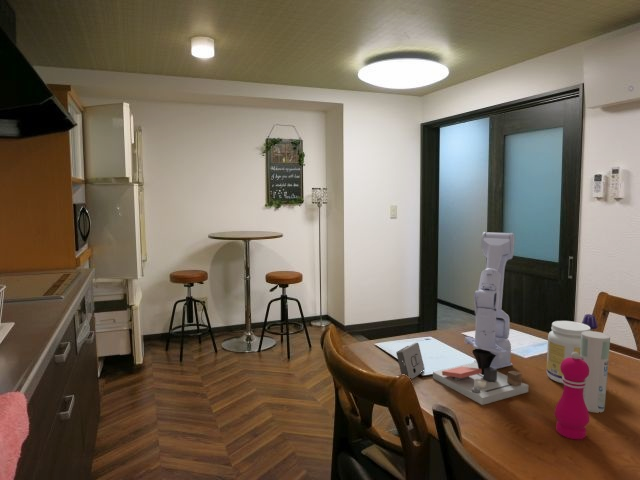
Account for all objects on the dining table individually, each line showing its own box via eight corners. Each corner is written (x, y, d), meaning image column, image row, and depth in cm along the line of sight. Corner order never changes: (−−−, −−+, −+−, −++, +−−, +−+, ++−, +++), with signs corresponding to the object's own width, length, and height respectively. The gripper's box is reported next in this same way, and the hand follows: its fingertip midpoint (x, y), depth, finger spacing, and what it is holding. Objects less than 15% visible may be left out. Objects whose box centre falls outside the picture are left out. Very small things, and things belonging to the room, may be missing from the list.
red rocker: (462, 370, 142) (461, 366, 142) (481, 373, 135) (481, 368, 135) (442, 375, 138) (441, 371, 138) (461, 378, 131) (460, 373, 131)
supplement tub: (588, 374, 145) (592, 322, 143) (593, 390, 134) (596, 333, 132) (545, 368, 150) (548, 317, 148) (546, 382, 139) (549, 328, 137)
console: (475, 368, 150) (476, 351, 150) (528, 391, 133) (529, 373, 132) (432, 378, 142) (433, 360, 142) (482, 405, 124) (483, 384, 124)
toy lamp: (594, 367, 151) (597, 317, 149) (577, 364, 154) (581, 315, 152) (595, 363, 155) (599, 314, 153) (580, 360, 157) (583, 312, 156)
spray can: (604, 415, 119) (610, 340, 117) (576, 409, 122) (580, 335, 120) (605, 405, 124) (610, 333, 122) (577, 399, 128) (582, 329, 126)
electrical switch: (411, 380, 141) (409, 350, 140) (396, 377, 144) (394, 348, 143) (425, 371, 148) (423, 342, 147) (410, 368, 151) (408, 341, 151)
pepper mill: (547, 425, 114) (552, 347, 111) (575, 424, 114) (580, 346, 112) (565, 441, 106) (570, 358, 104) (595, 440, 107) (600, 357, 105)
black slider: (490, 377, 138) (490, 366, 137) (496, 380, 136) (497, 369, 135) (483, 379, 136) (483, 368, 136) (489, 382, 134) (490, 371, 134)
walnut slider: (512, 381, 135) (513, 370, 135) (521, 384, 132) (521, 373, 132) (507, 382, 134) (507, 372, 134) (515, 386, 131) (515, 375, 131)
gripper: (457, 324, 141) (456, 367, 143) (494, 338, 128) (492, 385, 130) (474, 322, 144) (473, 363, 146) (512, 334, 132) (510, 380, 133)
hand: (483, 373), depth 138 cm, fingers closed
